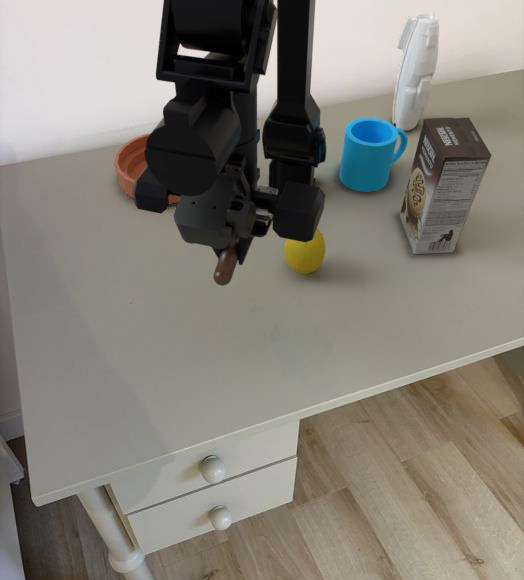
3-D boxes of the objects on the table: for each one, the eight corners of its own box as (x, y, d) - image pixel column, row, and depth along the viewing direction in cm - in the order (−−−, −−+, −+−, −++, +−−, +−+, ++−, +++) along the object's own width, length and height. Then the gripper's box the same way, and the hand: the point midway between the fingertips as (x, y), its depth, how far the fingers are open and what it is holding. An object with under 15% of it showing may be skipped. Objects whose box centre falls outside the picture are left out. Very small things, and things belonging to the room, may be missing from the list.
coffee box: (397, 215, 83) (422, 116, 70) (437, 213, 83) (470, 114, 70) (412, 255, 77) (442, 156, 64) (455, 253, 77) (494, 154, 65)
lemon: (326, 262, 76) (332, 218, 70) (316, 289, 73) (321, 245, 67) (290, 254, 77) (292, 209, 71) (278, 279, 74) (279, 235, 68)
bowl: (223, 160, 91) (222, 139, 88) (192, 214, 83) (190, 193, 79) (142, 146, 94) (138, 125, 91) (104, 197, 85) (98, 176, 82)
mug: (358, 197, 85) (366, 151, 79) (329, 171, 90) (335, 126, 83) (416, 176, 89) (428, 130, 82) (386, 151, 93) (395, 106, 87)
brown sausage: (229, 221, 60) (238, 215, 59) (244, 229, 61) (252, 224, 60) (207, 282, 58) (215, 278, 56) (223, 290, 59) (231, 286, 57)
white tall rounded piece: (377, 119, 100) (399, 138, 96) (396, 12, 86) (423, 30, 82) (406, 111, 102) (429, 130, 97) (430, 6, 87) (458, 23, 83)
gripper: (89, 161, 44) (125, 292, 57) (305, 201, 41) (294, 331, 54) (144, 99, 51) (166, 228, 63) (334, 129, 48) (318, 259, 60)
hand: (232, 260), depth 60 cm, fingers closed on brown sausage, 2 cm apart
